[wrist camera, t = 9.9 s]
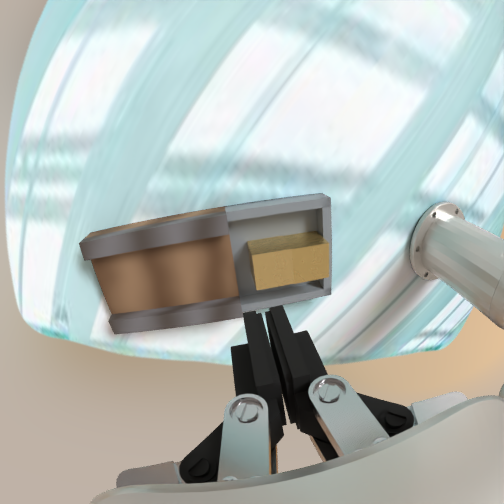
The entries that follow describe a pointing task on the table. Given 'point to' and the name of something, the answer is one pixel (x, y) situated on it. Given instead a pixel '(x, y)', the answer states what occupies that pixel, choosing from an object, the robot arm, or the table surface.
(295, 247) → the tan cube
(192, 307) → the slot block
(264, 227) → the tray
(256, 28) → the table surface
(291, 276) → the golden wooden cube
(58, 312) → the table surface
